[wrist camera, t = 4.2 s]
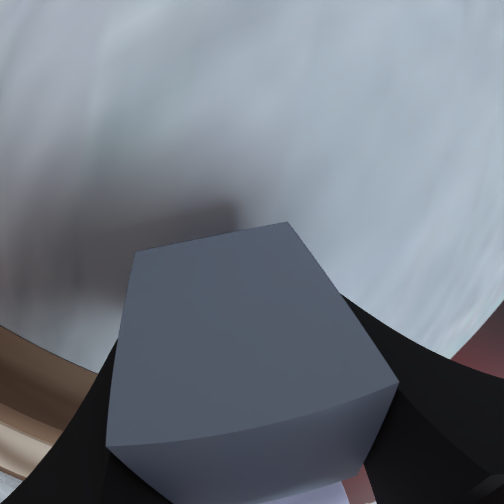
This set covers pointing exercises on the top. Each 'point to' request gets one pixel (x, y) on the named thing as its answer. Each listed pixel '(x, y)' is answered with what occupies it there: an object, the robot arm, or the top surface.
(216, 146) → the top surface
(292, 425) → the block
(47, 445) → the walnut base
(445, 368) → the robot arm
